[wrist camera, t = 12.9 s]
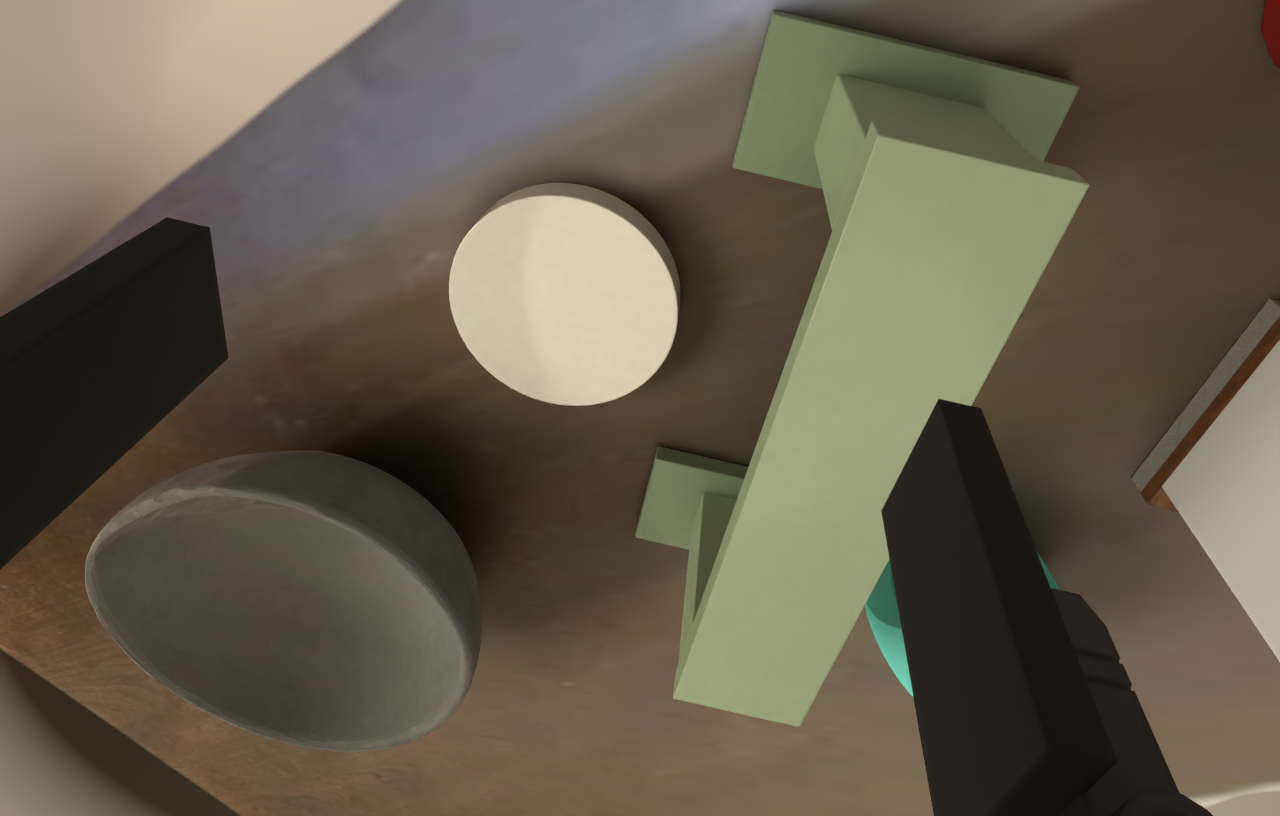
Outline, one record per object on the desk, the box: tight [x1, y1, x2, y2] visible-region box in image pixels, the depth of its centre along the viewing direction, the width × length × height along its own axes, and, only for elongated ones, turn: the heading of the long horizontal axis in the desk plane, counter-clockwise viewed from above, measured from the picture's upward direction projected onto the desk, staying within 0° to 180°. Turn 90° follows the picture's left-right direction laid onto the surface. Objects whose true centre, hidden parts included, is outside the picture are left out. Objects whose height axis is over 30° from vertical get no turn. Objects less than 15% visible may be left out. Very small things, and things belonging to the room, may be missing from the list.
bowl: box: [85, 450, 482, 752], centre depth 45 cm, size 20×20×10 cm
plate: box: [449, 183, 681, 406], centre depth 38 cm, size 11×11×2 cm
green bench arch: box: [635, 10, 1089, 727], centre depth 34 cm, size 28×12×12 cm, turn 169°
